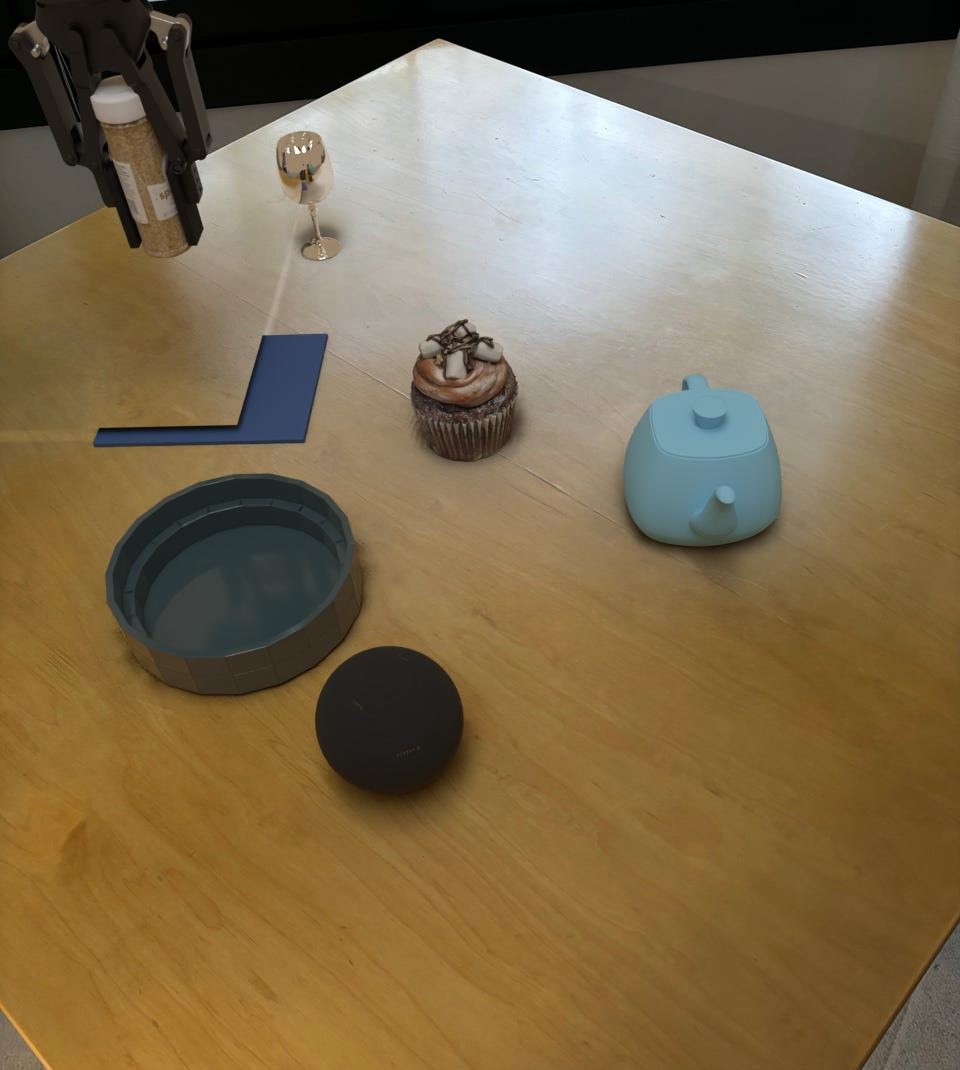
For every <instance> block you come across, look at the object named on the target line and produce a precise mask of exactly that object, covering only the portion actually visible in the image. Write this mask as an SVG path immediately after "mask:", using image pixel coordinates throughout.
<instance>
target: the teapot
mask: <svg viewBox="0 0 960 1070" xmlns="http://www.w3.org/2000/svg"><path fill="white" fill-rule="evenodd" d="M630 435H631V436H630V437H629V440H628V443H627V446H626V450H625V454H624V459H623V469H622V490H623V495H624V499H625V502H626V505H627V509H628V512H629V514H630V517H631V519H632V521H633V522H634V524H635V525H636V526H637V527H638V529H639V530H640V531H641V532H642V533H643V534H644V535H645V536H646V537H648V538H650V539H652V540H654V541H657V542H660V543H664V544H668V545H676V546H683V547H685V546H686V547H712V546H722V545H727V544H732V543H737V542H740V541H743V540H747V539H750V538H752V537H754V536H755V535H757V534H759V533H762V532H763V531H764V530H766V529H767V528H768V527H769V526H771V524H772V523H773V522H774V521H775V519H776V518H777V517H778V515H779V514H780V509H781V505H782V497H783V496H782V494H783V491H782V489H783V488H782V487H783V486H782V485H783V484H782V469H781V462H780V456H779V452H778V447H777V444H776V441H775V438H774V435H773V432H772V430H771V426H770V424H769V421H768V419H767V417H766V414H765V412H764V410H763V408H762V406H761V403H760V402H759V400H758V399H757V398H756V397H755V396H754V395H752V394H750V393H748V392H746V391H743V390H738V389H733V388H718V387H717V388H715V387H713V388H711V387H710V386H709V382H708V380H707V378H706V376H704V375H703V374H700V373H692V374H688V375H686V376H684V377H683V379H682V381H681V390H679V391H675V392H671V393H667V394H664V395H661V396H659V397H657V398H656V399H654V400H653V401H652V402H651V403H650V404H649V405H648V407H647V408H646V410H645V411H644V413H643V414H642V416H641V417H640V419H639V420H638V422H637V423H636V424H635V427H634V429H633V431H632V433H631V434H630Z"/></svg>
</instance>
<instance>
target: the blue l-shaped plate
mask: <svg viewBox="0 0 960 1070" xmlns="http://www.w3.org/2000/svg"><path fill="white" fill-rule="evenodd" d="M328 338H329V335H328V333H327V332H326V333H297V334H296V333H294V334H293V333H292V334H291V333H290V334H263V335H262V336H261V339H260V342H259V346H258V350H257V353H256V356H255V360H254V364H253V367H252V370H251V375H250V378H249V381H248V385H247V388H246V391H245V394H244V399H243V403H242V405H241V409H240V413H239V416H238V419H237V424H210V425H207V424H206V425H163V426H162V425H160V426H159V425H157V426H120V427H119V426H117V427H116V426H115V427H113V426H112V427H111V426H110V427H98V429H97V432H96V434H95V437H94V439H93V441H92V446H93V447H95V448H100V447H102V448H105V447H151V446H153V447H155V446H156V447H157V446H198V445H199V446H200V445H201V446H202V445H203V446H204V445H205V446H206V445H207V446H208V445H249V444H250V445H252V444H254V445H255V444H298V443H300V444H301V443H303V444H304V443H305V441H306V436H307V433H308V429H309V428H308V427H309V424H310V420H311V415H312V410H313V406H314V401H315V396H316V392H317V388H318V383H319V378H320V374H321V369H322V365H323V361H324V357H325V356H324V355H325V351H326V347H327V342H328Z"/></svg>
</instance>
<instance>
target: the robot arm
mask: <svg viewBox="0 0 960 1070" xmlns="http://www.w3.org/2000/svg"><path fill="white" fill-rule="evenodd" d="M34 3H35V15H34V16H35V17H34V21H32V22H30V23H28V22H21V23H20V24H19V25H18V26H17V27H16V29H15V30H14V31H13V33H12V34H11V35H10V37H9V38H8V41H7V45H8V48H9V50H10V51H11V52H12V53H13V55H14V56H15V57H16V59H17V60H18V61H19V63H20V64H21V65H22V67H23V68H24V69H25V70H26V72H27V76H28V77H29V79H30V82H31V85H32V87H33V90H34V92H35V95H36V97H37V100H38V102H39V104H40V107H41V109H42V112H43V114H44V116H45V120H46V122H47V124H48V127H49V129H50V132H51V134H52V137H53V139H54V141H55V144H56V147H57V148H58V152H59V154H60V157H61V159H62V161H63V163H64V164H65V165H67V166H69V167H76V166H77V165H78V166H81V167H83V168H84V167H85V168H86V169H88V170H89V171H90V172H91V173H92V175H93V178H94V180H95V183H96V186H97V189H98V191H99V194H100V196H101V197H100V198H101V199H102V201H103V204H104V205H105V206H106V207H107V208H108V209H109V208H110V209H111V208H115V209H116V212H117V216H118V219H119V221H120V224H121V227H122V229H123V232H124V235H125V236H126V241H127V243H128V245H129V248H130V249H140V247H141V246H142V239H141V236H140V233H139V231H138V228H137V225H136V222H135V219H134V218H133V217H132V214H131V211H130V208H129V205H128V203H127V200H126V197H125V194H124V191H123V188H122V185H121V183H120V180H119V177H118V174H117V171H116V168H115V165H114V163H113V160H112V159H111V158H110V156H111V152H110V148H109V146H108V143H107V140H106V137H105V134H104V131H103V128H102V125H101V124H100V122H99V120H98V119H97V118H96V115H95V112H94V109H93V106H92V103H91V99H90V97H91V96H92V95H93V94H94V92H95V90H96V89H97V87H98V85H99V84H100V82H101V81H102V73H104V72H106V71H109V72H114V73H120V75H122V77H123V79H124V81H125V82H126V84H127V85H128V86H129V87H131V88H132V89H133V91H134V93H136V94H138V96H139V98H140V100H141V103H142V106H143V109H144V112H145V114H146V115H147V117H148V119H149V121H150V123H151V125H152V127H153V129H154V130H155V132H156V134H157V136H158V138H159V140H160V142H161V143H162V145H163V147H164V149H165V151H166V153H167V155H168V157H169V158H170V163H169V165H168V167H167V170H166V176H167V179H168V182H169V185H170V188H171V192H172V195H173V198H174V201H175V204H176V208H177V211H178V214H179V217H180V220H181V224H182V227H183V230H184V233H185V236H186V240H187V243H188V246H192V247H198V245H199V242H200V239H201V237H202V234H203V232H204V225H203V221H202V218H201V214H200V211H199V207H198V204H200V202H201V199H202V197H203V194H204V193H203V192H204V187H203V184H202V180H201V177H200V173H199V170H198V166H197V163H196V161H204V160H206V159H207V157H208V154H209V151H210V149H211V147H212V144H213V141H214V136H213V133H212V129H211V126H210V121H209V117H208V113H207V109H206V106H205V101H204V98H203V93H202V89H201V84H200V82H199V77H198V72H197V69H196V66H195V61H194V58H193V54H192V53H193V52H192V48H191V42H192V30H193V20H192V18H191V17H190V16H189V15H188V14H187V13H183V12H181V13H178V14H177V15H176V16H175V17H174V16H171V15H168V14H165V13H162V12H160V11H156V10H154V8H153V5H152V4H151V2H150V1H149V0H34ZM151 31H152V32H153V33H154V34H155V35H156V37H157V40H158V41H157V42H158V44H159V47H160V48H161V49H162V50H163V51H166V62H167V66H168V71H169V75H170V79H171V82H172V86H173V89H174V93H175V97H176V100H177V101H176V102H177V104H178V108H179V111H180V112H179V113H180V116H181V119H182V122H183V124H182V122H181V120H180V118H179V116H178V114H177V112H176V110H175V108H174V107H173V104H172V102H171V101H170V98H169V97H168V95H167V93H166V91H165V89H164V87H163V85H162V83H161V81H160V79H159V78H158V75H157V73H156V71H155V69H154V63H153V60H152V57H151V55H150V53H149V51H148V50H147V48H146V44H147V40H148V38H149V35H150V33H151ZM49 42H50V43H51V44H53V46H55V47H56V48H57V49H58V50H59V52H61V53H62V54H63V55H64V56H65V57H66V58H67V59H68V60H69V64H70V65H69V66H70V72H71V78H72V84H73V86H74V87H75V90H76V97H77V105H78V111H79V117H80V124H81V128H80V125H79V123H78V120H77V118H76V115H75V111H74V110H73V107H72V105H71V102H70V98H69V97H68V94H67V91H66V89H65V86H64V83H63V81H62V78H61V75H60V73H59V70H58V67H57V65H56V63H55V60H54V58H53V56H52V54H51V52H50V43H49Z"/></svg>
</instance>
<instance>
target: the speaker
mask: <svg viewBox="0 0 960 1070" xmlns="http://www.w3.org/2000/svg"><path fill="white" fill-rule="evenodd" d="M464 719H465V717H464V707H463V702H462V699H461V695H460V693H459V690H458V688H457V686H456V684H455V682H454V681H453V679H452V677H451V676H450V675H449V674H448V672H447V671H446V670H445V669H444V668H443V667H442V666H441V665H440V664H439V663H438V662H437V661H435V660H434V659H433V658H431V657H430V656H428V655H426V654H424V653H422V652H420V651H417V650H415V649H412V648H409V647H404V646H397V645H382V646H376V647H375V646H374V647H370V648H367V649H365V650H362V651H359V652H357V653H355V654H353V655H351V656H350V657H348V658H347V659H345V660H344V661H343V662H342V663H340V664H339V665H338V666H337V667H336V668H335V669H334V670H333V671H332V673H330V675H329V676H328V678H327V679H326V681H325V683H324V685H323V686H322V688H321V690H320V693H319V696H318V698H317V701H316V706H315V712H314V729H315V734H316V740H317V743H318V746H319V749H320V751H321V754H322V755H323V757H324V759H325V761H326V762H327V764H328V765H329V766H330V767H331V769H332V770H333V771H334V772H335V773H336V774H337V775H338V776H339V777H340V778H341V779H343V780H344V781H345V782H347V783H348V784H350V785H351V786H354V787H355V788H357V789H360V790H362V791H365V792H368V793H373V794H377V795H387V796H388V795H390V796H391V795H401V794H407V793H411V792H413V791H416V790H418V789H420V788H423V787H424V786H426V785H428V784H429V783H431V782H432V781H434V780H436V778H438V777H439V776H440V775H441V774H442V773H443V772H444V771H445V770H446V768H447V767H448V766H449V765H450V763H451V762H452V761H453V760H454V757H455V755H456V754H457V752H458V749H459V747H460V744H461V741H462V737H463V731H464V722H465V721H464Z"/></svg>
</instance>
